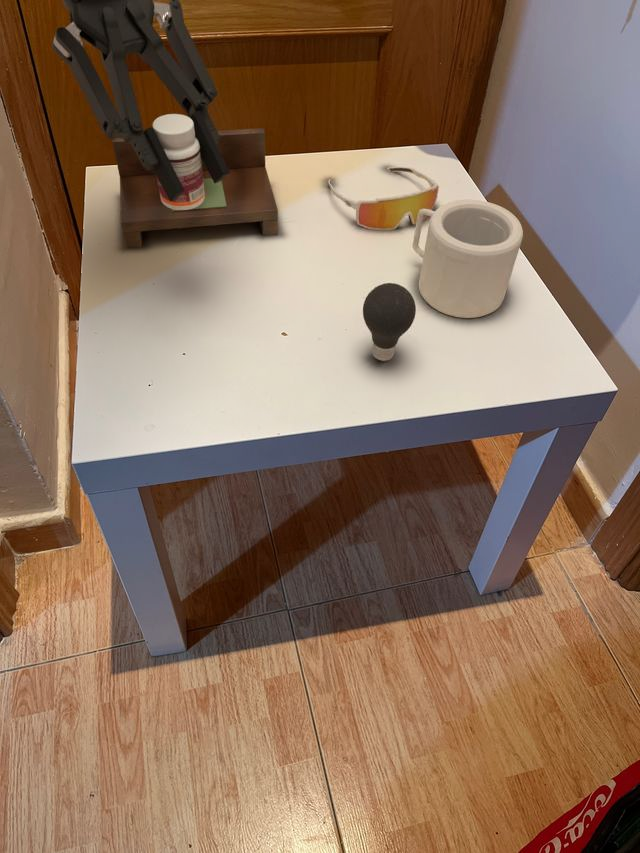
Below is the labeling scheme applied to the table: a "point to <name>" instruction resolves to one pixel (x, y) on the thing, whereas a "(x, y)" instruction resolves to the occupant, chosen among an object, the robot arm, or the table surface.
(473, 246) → the mug
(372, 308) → the light bulb
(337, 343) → the table surface
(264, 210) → the shelf
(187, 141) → the pill bottle
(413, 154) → the table surface
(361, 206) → the sunglasses
